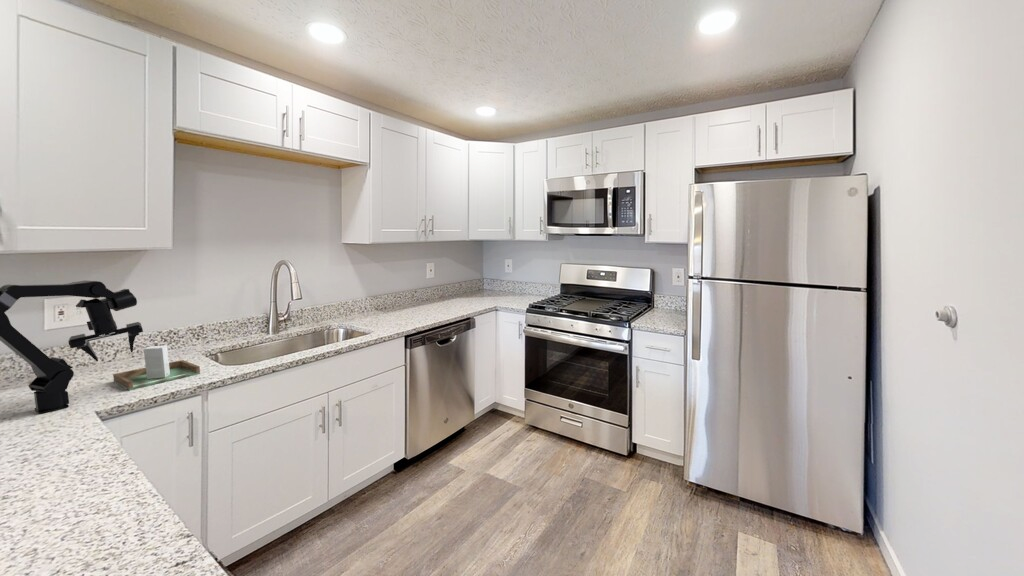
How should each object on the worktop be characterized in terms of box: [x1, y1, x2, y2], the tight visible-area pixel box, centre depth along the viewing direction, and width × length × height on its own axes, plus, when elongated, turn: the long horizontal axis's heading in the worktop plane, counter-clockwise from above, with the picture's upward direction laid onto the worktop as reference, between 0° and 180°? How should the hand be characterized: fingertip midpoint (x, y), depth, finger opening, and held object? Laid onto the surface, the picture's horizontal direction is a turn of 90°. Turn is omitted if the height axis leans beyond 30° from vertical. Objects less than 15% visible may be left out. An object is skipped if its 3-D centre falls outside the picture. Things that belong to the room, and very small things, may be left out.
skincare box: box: [143, 344, 170, 379], centre depth 161 cm, size 6×4×12 cm
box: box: [112, 359, 201, 391], centre depth 163 cm, size 22×16×3 cm
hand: (115, 356), depth 149 cm, fingers open, 9 cm apart
